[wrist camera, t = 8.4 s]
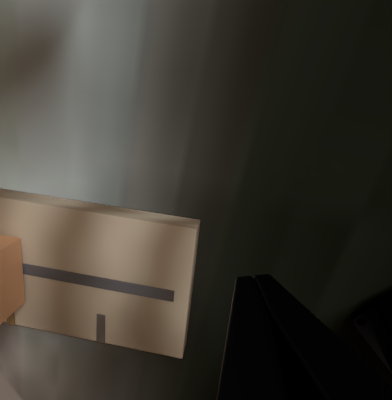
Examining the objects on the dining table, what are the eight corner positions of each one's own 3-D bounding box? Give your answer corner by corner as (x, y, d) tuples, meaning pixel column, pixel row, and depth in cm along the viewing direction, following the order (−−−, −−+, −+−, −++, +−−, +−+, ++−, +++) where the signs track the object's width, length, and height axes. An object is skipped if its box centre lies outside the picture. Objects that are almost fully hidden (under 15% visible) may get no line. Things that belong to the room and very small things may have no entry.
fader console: (200, 219, 22) (196, 229, 21) (186, 343, 25) (181, 359, 24) (-25, 184, 24) (-44, 191, 22) (-11, 304, 27) (-26, 316, 26)
